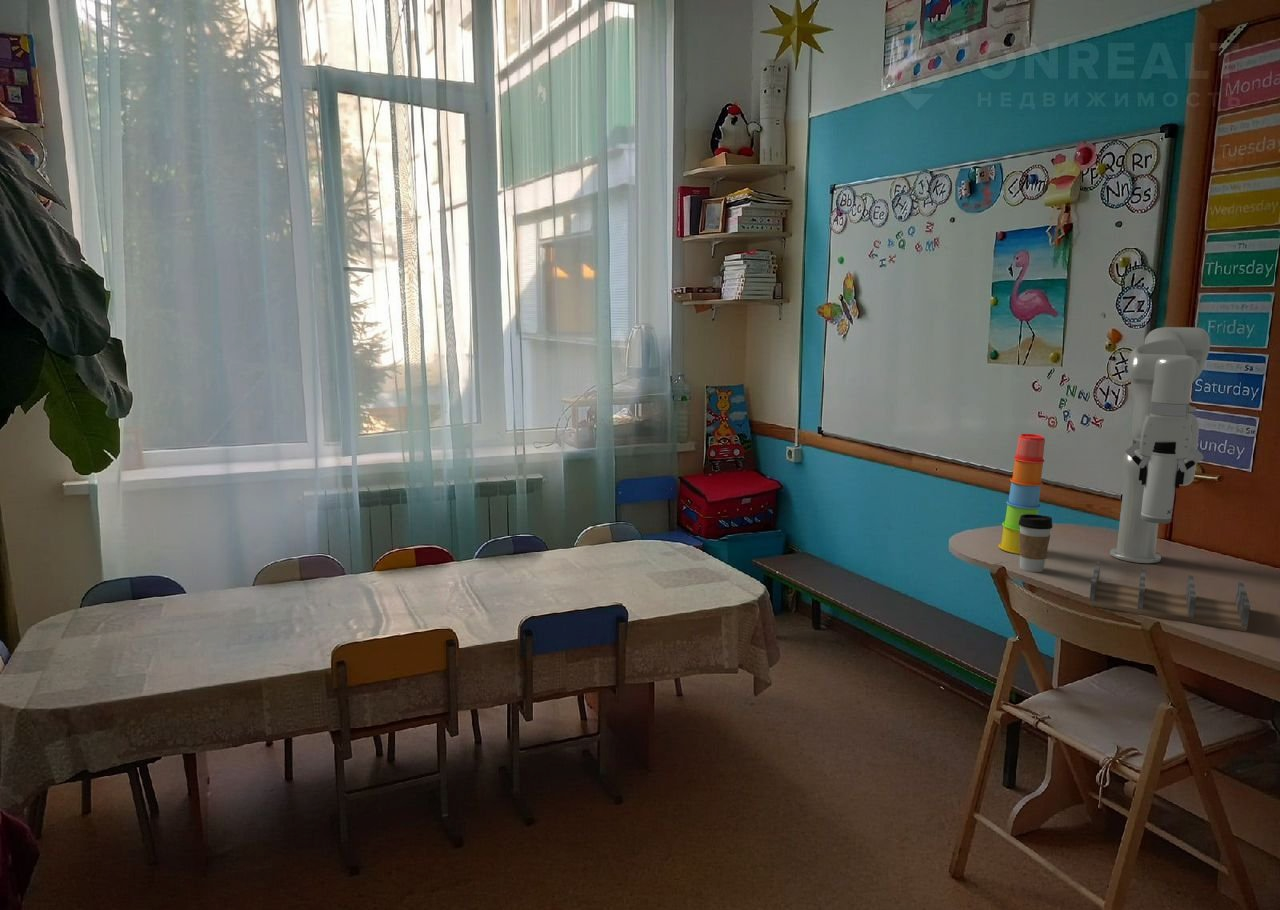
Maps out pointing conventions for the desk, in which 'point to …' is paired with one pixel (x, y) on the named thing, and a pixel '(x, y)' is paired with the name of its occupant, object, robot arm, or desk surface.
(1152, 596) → the drying rack
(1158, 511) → the travel mug
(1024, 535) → the coffee cup
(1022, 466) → the stacking cups
